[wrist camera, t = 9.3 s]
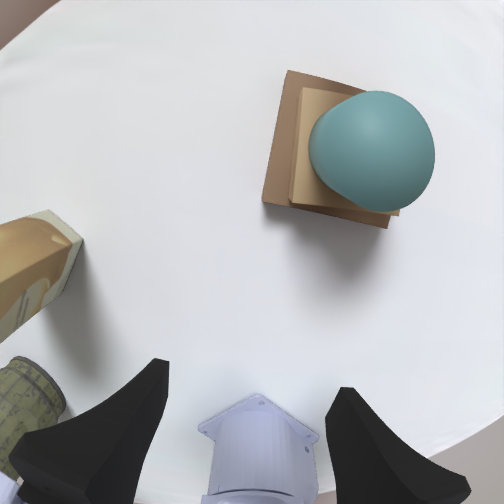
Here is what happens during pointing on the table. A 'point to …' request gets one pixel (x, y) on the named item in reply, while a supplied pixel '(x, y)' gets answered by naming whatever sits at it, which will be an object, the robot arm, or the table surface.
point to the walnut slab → (284, 143)
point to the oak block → (302, 173)
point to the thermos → (25, 405)
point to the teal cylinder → (373, 151)
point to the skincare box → (33, 266)
